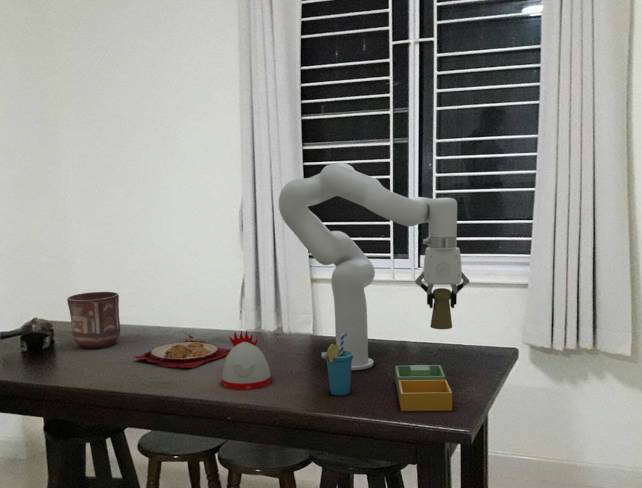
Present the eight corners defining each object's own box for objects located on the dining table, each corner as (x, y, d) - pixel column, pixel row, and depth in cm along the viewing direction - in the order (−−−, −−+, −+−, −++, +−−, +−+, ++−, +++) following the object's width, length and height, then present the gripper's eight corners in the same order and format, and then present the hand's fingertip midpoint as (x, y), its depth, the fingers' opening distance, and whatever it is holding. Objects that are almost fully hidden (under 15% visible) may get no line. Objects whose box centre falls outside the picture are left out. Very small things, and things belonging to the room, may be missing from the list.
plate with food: (132, 362, 247) (131, 351, 246) (187, 343, 267) (186, 333, 266) (185, 372, 232) (184, 361, 232) (239, 351, 252) (238, 341, 251)
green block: (411, 388, 202) (411, 370, 201) (410, 382, 207) (409, 365, 206) (430, 388, 201) (430, 369, 200) (428, 382, 206) (428, 364, 205)
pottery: (82, 339, 283) (78, 292, 280) (128, 338, 280) (124, 290, 277) (64, 351, 265) (59, 301, 262) (112, 350, 263) (108, 299, 260)
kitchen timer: (224, 376, 224) (221, 326, 222) (271, 374, 224) (268, 324, 221) (220, 390, 211) (217, 337, 208) (270, 388, 210) (267, 335, 207)
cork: (452, 329, 211) (453, 290, 209) (430, 329, 213) (431, 290, 211) (451, 324, 217) (452, 286, 215) (430, 324, 218) (430, 286, 216)
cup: (333, 383, 212) (331, 330, 209) (361, 384, 209) (359, 331, 206) (319, 398, 199) (317, 342, 196) (348, 400, 196) (346, 343, 194)
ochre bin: (401, 411, 186) (400, 393, 185) (398, 397, 197) (398, 380, 196) (452, 410, 184) (452, 392, 183) (446, 396, 195) (446, 379, 194)
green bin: (397, 393, 199) (397, 377, 199) (395, 381, 210) (395, 365, 210) (445, 393, 198) (445, 376, 197) (440, 380, 209) (440, 365, 208)
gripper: (412, 245, 208) (411, 310, 211) (476, 244, 206) (474, 309, 209) (410, 241, 215) (409, 304, 219) (472, 241, 213) (470, 304, 216)
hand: (441, 306), depth 214 cm, fingers closed on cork, 5 cm apart
